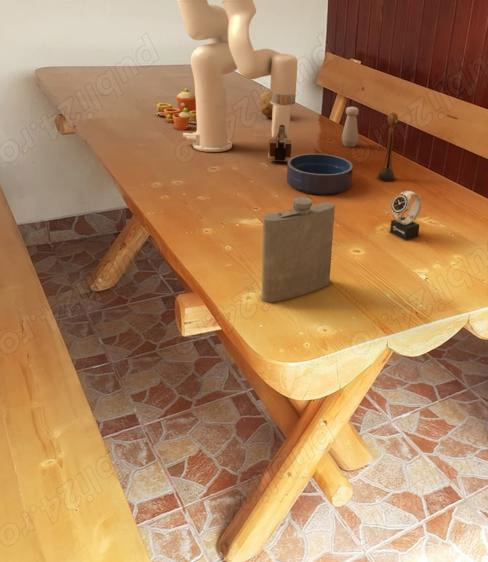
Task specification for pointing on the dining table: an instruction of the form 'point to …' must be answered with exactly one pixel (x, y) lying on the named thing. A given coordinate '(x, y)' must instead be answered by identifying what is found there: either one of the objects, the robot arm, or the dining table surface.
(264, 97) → the natural sponge
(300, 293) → the hip flask
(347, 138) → the salt shaker
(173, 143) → the dining table surface
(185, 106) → the toy tea set
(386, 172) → the wooden tabletop sculpture
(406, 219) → the watch
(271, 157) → the eraser
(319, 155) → the bowl
